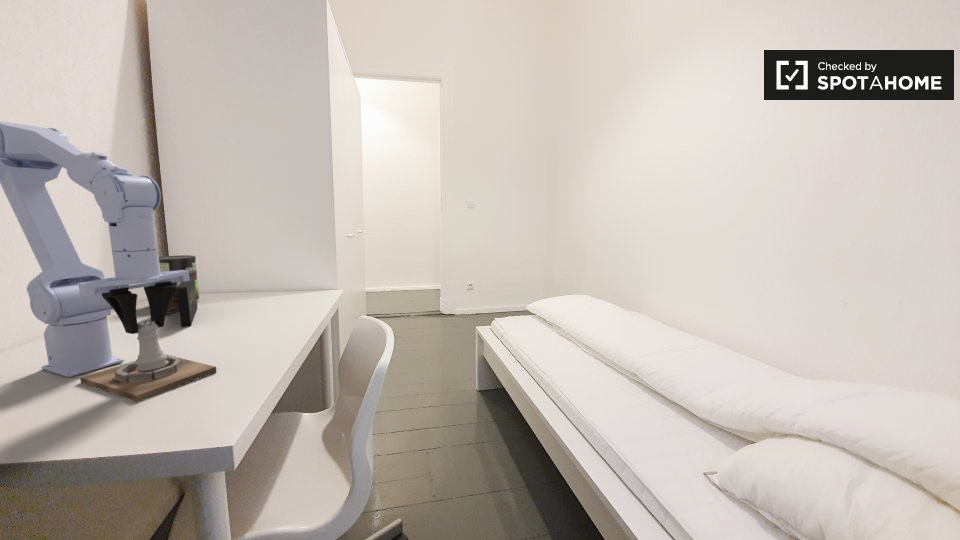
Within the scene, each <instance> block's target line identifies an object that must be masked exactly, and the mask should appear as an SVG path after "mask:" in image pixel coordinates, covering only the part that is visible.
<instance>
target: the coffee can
mask: <svg viewBox="0 0 960 540" xmlns="http://www.w3.org/2000/svg"><path fill="white" fill-rule="evenodd" d="M159 264H160V272H167V271H177V270H187V271H189V276H190V275H194V278H195V287H196V297H197V303H199V301H200V300H201V299H200V293H199V283H198V273H197V262H196V255H189V254H188V255H185V254H184V255H166V256H159ZM181 282H182V281H181ZM181 282H177V284H179V283H181Z"/></svg>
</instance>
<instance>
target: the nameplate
mask: <svg viewBox="0 0 960 540" xmlns="http://www.w3.org/2000/svg"><path fill="white" fill-rule="evenodd" d="M189 279H190V281H186V282H181V283H180V284H179V286H178V287H177V292H178V301H179V310H180V312H179V318H180V325H181V328H183V327H189V326H190V327H191V326H193V325H192V324H193V322H194V319H195V316H196V315H197V314H196V313H197V310H198V302H197V297H196V287H195V278H194V275H190V276H189Z"/></svg>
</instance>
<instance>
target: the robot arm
mask: <svg viewBox="0 0 960 540" xmlns="http://www.w3.org/2000/svg"><path fill="white" fill-rule="evenodd" d="M62 168H64V169H66V173H67V175H68V178H69V179H70V180H71V181H72V182H74V183H75V184H77V185H78V186H80V187H82V188H83V189H84V190H87V191H88V192H90V193H91V194H93V196H94V200H95V202H96V203H97V205H98V207H99V208H100V211H101V214H102V215H101V216H102V219H103V220H104V222H106V223H107V225H108V231H109V238H110V239H109V240H110V246H111V253H112V255H111V256H112V261H113V262H112V263H113V269H114V276H113V277H112V276H111V277H108V278H107V277H106V276H105V274H104V272H103V271H102V270H101V269H98V268H96V267H93V266H90V265H88V264H86V263H83V262H82V260H81V259H80V257H79V254H78V252H77V250H76V248H75V246H74V243H73V242H72V239H71V237H70V234H69V233H68V231H67V228H66V227H65V224H64V222H63V221H62V217H61V216H60V214H59V212H58V210H57V208H56V206H55V203H54V201H53V199H52V197H51V196H50V194H49V190H48V189H47V187H46V183H48V182H51V181H53V180H55V179H57V178H58V177H59V175H60V173H61V171H62ZM0 186H1V188H2V190H3V192H4V194H5V197H6V199H7V200H8V203H9V205H10V207H11V209H12V210H13V211H12V212H13V213H14V216H15V217H16V219H17V221H18V224H19V226H20V228H21V229H22V232H23V235H24V236H25V238H26V241H27V242H28V245H29V247H30V248H31V251H32V254H33V255H34V257H35V259H36V261H37V263H38V265H39V267H40V270H41V272H40V273H39V274H38V275H36V276H35V277H34V278H32V279H31V281H29V283H28V285H27V286H26V292H27V295H28V297H29V305H30V309H31V312H32V314H33V316H34V317H35V318H36V319H37V320H39V321H40V322H42V323H43V324H46V325H47V326H46V328H45V330H44V333H43V337H44V344H45V350H46V356H47V364H45V365H42V366H41V369H43V370H45V371H47V372H51V373H54V374H57V375H60V376H63V377H66V378H71V377H75V376H77V375H78V376H79V375H82V374H86V373H89V372H92V371H95V370H98V369H102V368H106V367H109V366H114V365H116V364H119V363H123V362H124V360H125V359H124V358H121V357H118V356H117V357H116V356H113V352H112V348H111V347H112V345H111V339H110V331H109V324H108V323H109V322H108V318H107V317H109V316H112V313H111V312H112V311H113V310H114V312H115V313H116V315H117V316H118V318H119V320H120V322H121V323H122V326H123V328H124V331H125V333H127V334H132V335H133V334H134V335H135V334H138V324H137V323H138V320H137V319H138V318H137V300H138V294H137V293H132V291H131V290H134V289H141V288H143V290H144V293H145V296H146V300H147V302H148V306H149V314H150V315H149V316H150V321H155V324H156V325H158V326H159V327H158V328H159V329H160V328H163V327H165V322H166V321H165V320H166V317H167V316H166V312H167V309H168V306H169V303H170V301H171V299H172V297H173V295H174V293H175V292H176V285H172V284H171V283H174V282H181V281H182V282H186V281H190V279H189V271H187V270H177V271H167V272H160V264H159V257H160V256H159V249H158V248H159V247H158V246H159V245H158V238H157V231H156V222H155V215H154V211H155V210H157V209H158V208H159V207H160V204H161V202H162V201H161V200H162V192H161V189H160V187H159V186H160V185H159V184H158V183H157V182H156V181H155V180H154V179H153V178H152V177H151V176H149V175H139V176H136V175H133V174H132V173H131V172H129V171H128V169H126V167H124V166H118V165H117V164H115V162H112V161H110V160H108V156H107V155H106V154H104V153H102V152H94V151H92V152H83V150H80V149H79V148H78V147H76V146H75V145H74V144H73V143H71V142H70V140H69V138H68V135H67V133H65V132H62V131H60V130H59V129H58V128H54V127H48V128H47V127H40V126H34V125H33V126H32V125H27V124H21V123H14V122H7V121H2V120H1V121H0Z"/></svg>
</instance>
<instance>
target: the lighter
mask: <svg viewBox="0 0 960 540" xmlns="http://www.w3.org/2000/svg"><path fill="white" fill-rule="evenodd" d="M171 284H172V285H176V292H175V293H174V295H173V297H172V299H171V301H170V303H169V306H168V309H167V312H166V316H165V317H168V316H172V315H175V314H180V310H179V301H178V292H177V287H178V286H179V284H180V283H179V284H177V282H174V283H171Z"/></svg>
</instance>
